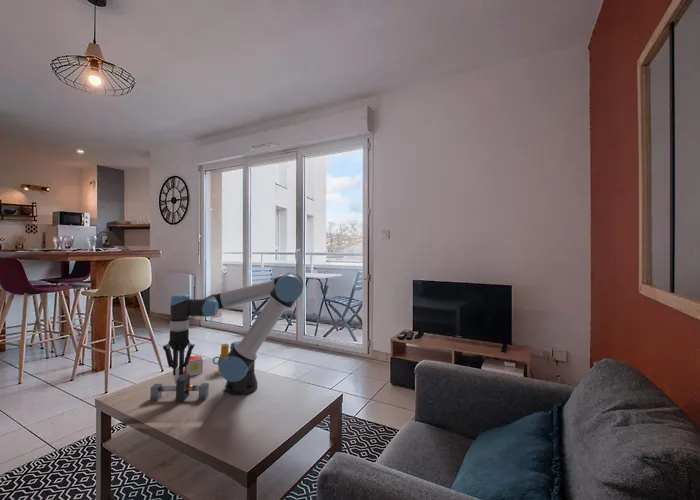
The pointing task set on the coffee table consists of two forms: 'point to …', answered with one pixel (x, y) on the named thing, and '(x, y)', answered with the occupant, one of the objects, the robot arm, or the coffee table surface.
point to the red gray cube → (194, 365)
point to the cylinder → (222, 355)
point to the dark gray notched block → (182, 388)
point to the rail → (158, 389)
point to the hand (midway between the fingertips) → (178, 382)
